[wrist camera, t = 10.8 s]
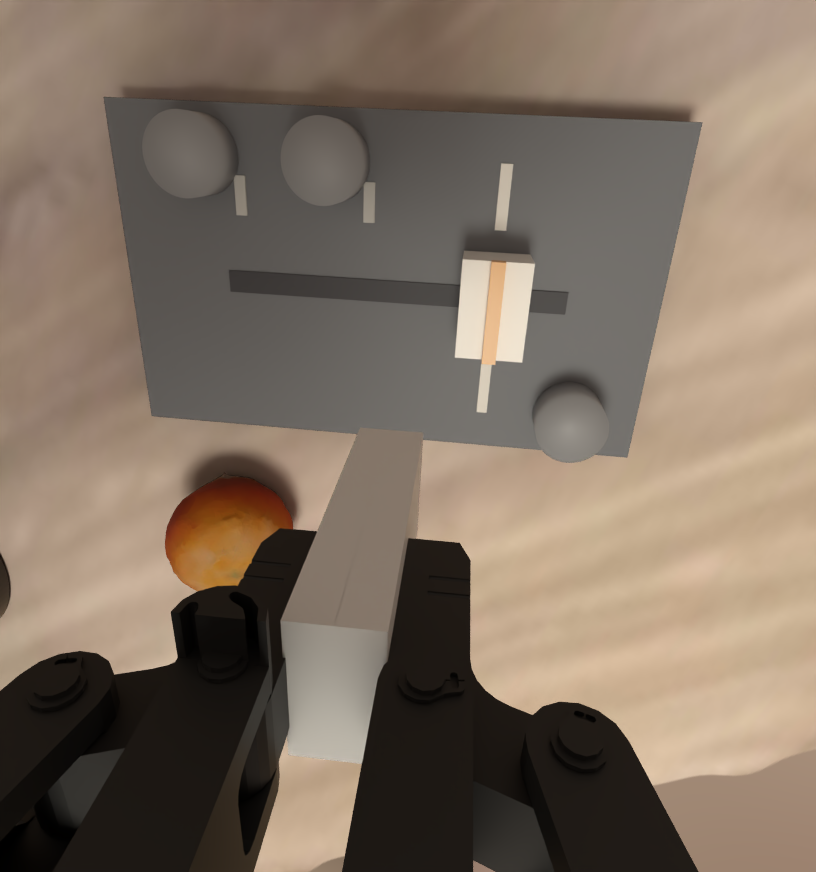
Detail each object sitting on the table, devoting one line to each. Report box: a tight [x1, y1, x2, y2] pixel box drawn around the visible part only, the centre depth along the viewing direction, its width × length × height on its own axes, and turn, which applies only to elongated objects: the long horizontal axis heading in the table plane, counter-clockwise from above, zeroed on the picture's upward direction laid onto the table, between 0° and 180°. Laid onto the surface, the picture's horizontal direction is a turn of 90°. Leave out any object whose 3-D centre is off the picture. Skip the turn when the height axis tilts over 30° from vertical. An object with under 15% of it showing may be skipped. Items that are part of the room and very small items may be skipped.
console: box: [104, 97, 702, 463], centre depth 34 cm, size 30×18×4 cm, turn 87°
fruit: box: [165, 473, 293, 591], centre depth 41 cm, size 8×8×8 cm
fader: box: [455, 251, 535, 365], centre depth 31 cm, size 4×5×4 cm
